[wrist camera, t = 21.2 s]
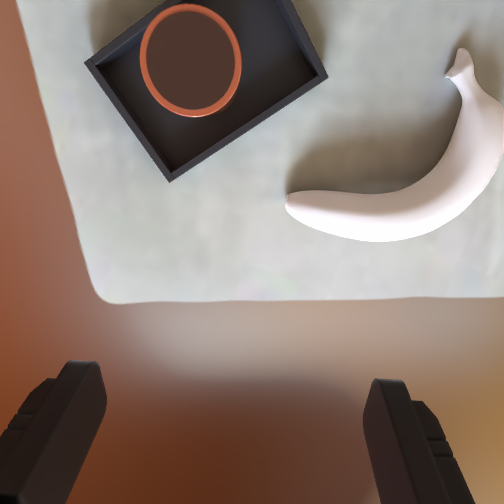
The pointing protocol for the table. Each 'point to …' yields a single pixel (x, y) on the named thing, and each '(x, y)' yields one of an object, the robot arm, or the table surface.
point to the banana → (429, 187)
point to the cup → (191, 61)
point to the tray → (250, 91)
